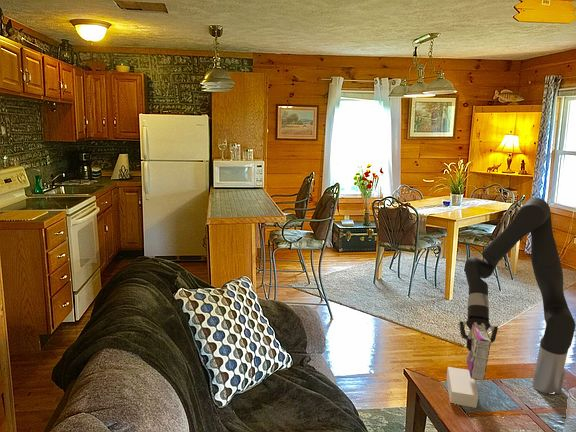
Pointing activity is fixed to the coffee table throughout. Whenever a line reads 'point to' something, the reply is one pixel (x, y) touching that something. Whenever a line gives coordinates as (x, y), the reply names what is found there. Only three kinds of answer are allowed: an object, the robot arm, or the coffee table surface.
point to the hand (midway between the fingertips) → (477, 351)
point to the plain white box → (461, 387)
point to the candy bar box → (478, 352)
